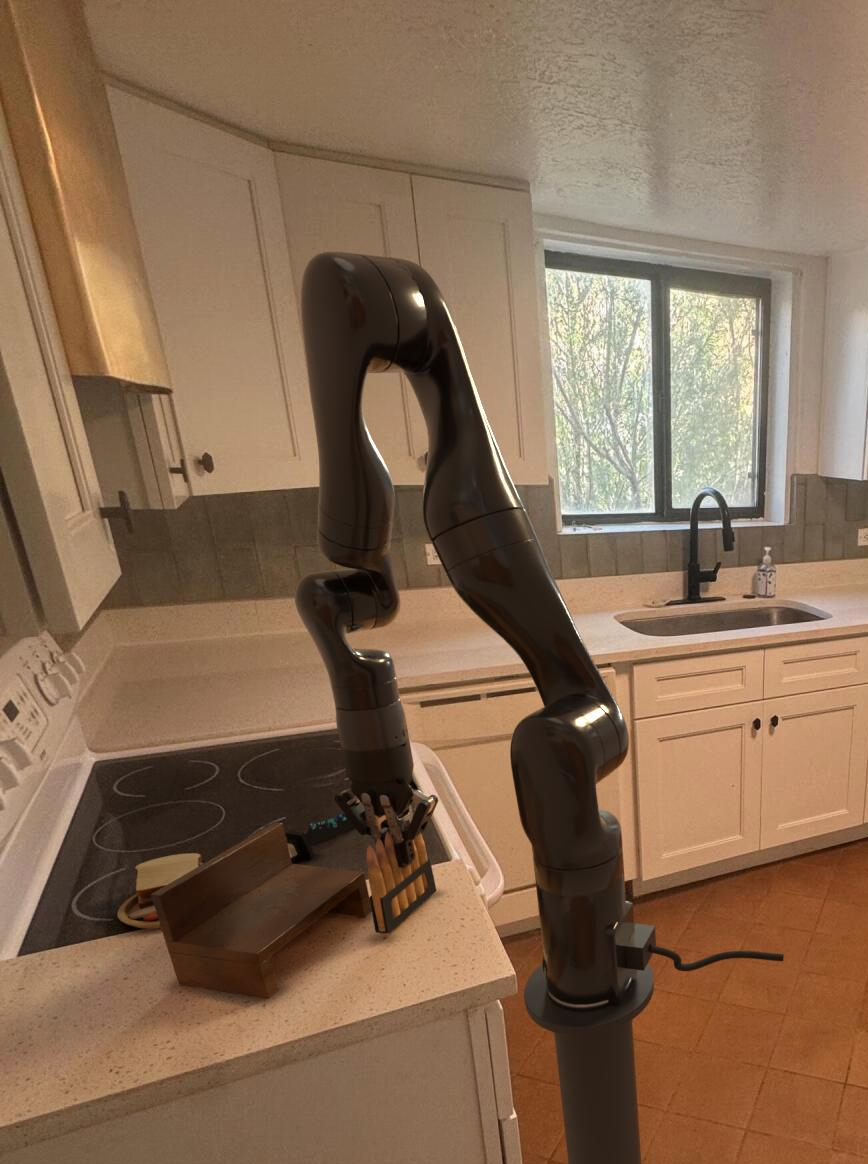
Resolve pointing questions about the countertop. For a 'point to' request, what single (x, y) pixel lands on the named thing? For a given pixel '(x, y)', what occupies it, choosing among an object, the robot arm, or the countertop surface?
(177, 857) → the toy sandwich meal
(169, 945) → the wooden bench
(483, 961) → the countertop surface
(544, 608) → the robot arm
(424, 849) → the ammunition clip
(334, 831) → the knife
